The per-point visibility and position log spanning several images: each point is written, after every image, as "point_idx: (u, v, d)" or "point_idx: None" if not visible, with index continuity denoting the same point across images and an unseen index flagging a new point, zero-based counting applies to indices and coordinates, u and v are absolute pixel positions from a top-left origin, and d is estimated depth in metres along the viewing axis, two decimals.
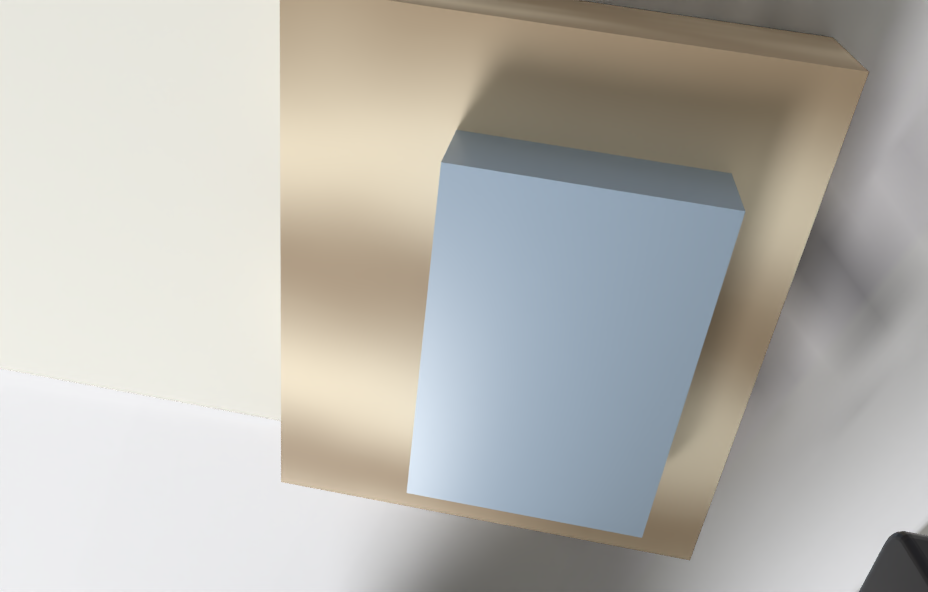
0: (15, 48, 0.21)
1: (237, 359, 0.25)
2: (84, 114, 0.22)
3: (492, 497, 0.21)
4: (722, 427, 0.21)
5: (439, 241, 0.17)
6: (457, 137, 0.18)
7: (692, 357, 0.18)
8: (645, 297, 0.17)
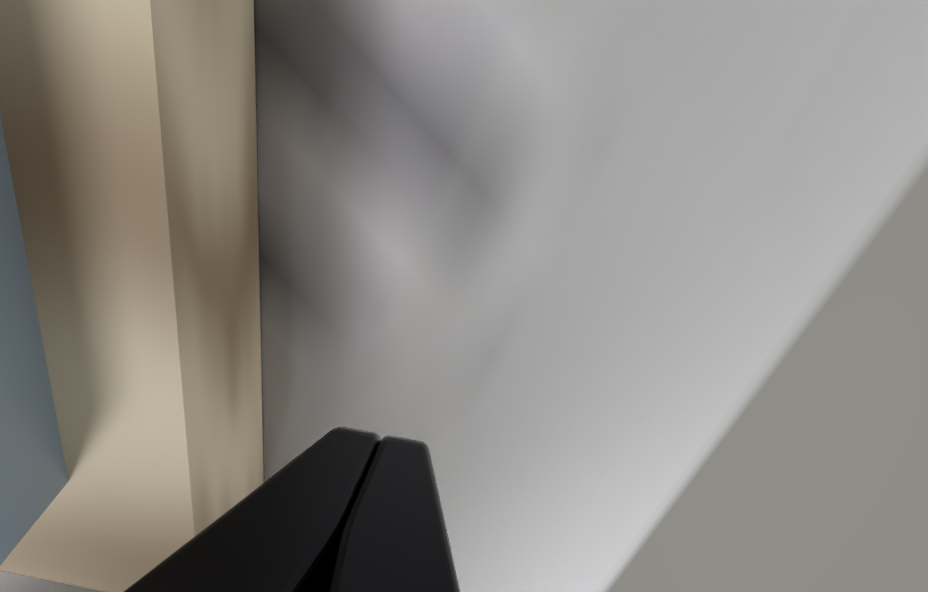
0: None
1: None
2: None
3: None
4: (156, 381, 0.11)
5: None
6: None
7: None
8: None
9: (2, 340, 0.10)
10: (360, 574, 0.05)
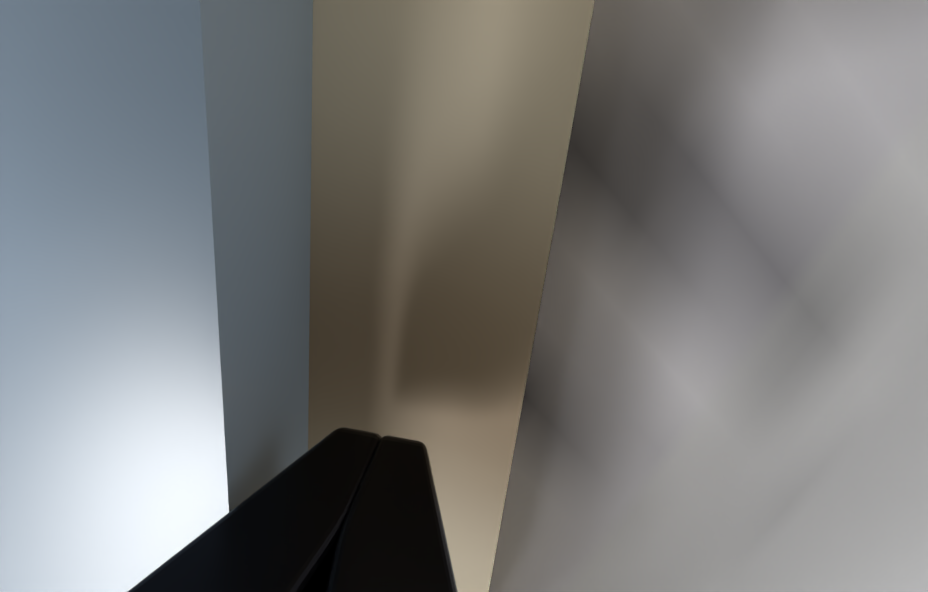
0: None
1: None
2: None
3: None
4: (456, 579, 0.09)
5: None
6: None
7: (210, 453, 0.06)
8: (13, 276, 0.05)
9: None
10: (358, 573, 0.05)
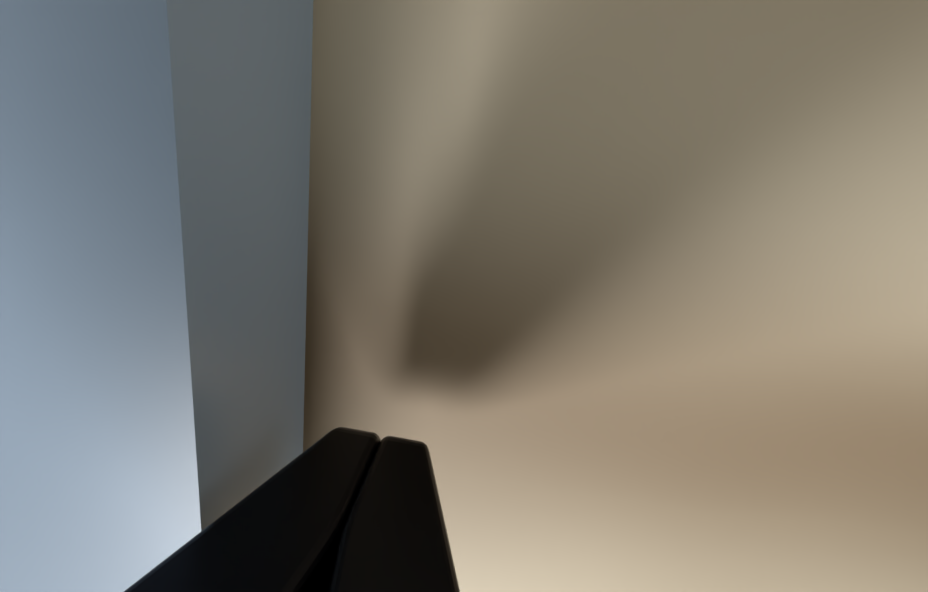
0: None
1: None
2: None
3: None
4: None
5: None
6: None
7: (180, 434, 0.06)
8: None
9: None
10: (361, 574, 0.05)
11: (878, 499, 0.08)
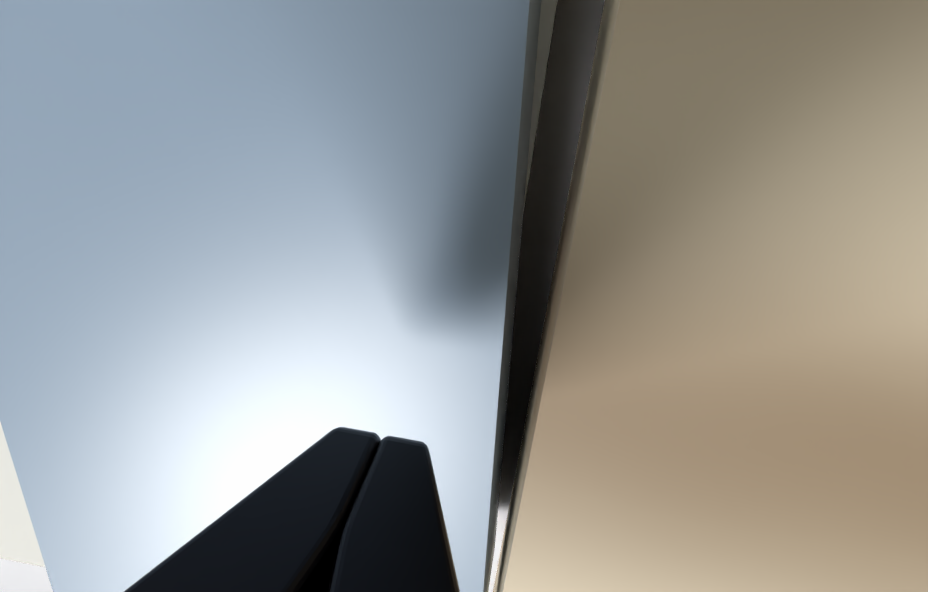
0: None
1: None
2: None
3: None
4: None
5: None
6: None
7: (492, 305, 0.08)
8: (362, 174, 0.08)
9: (503, 414, 0.10)
10: (360, 574, 0.05)
11: None
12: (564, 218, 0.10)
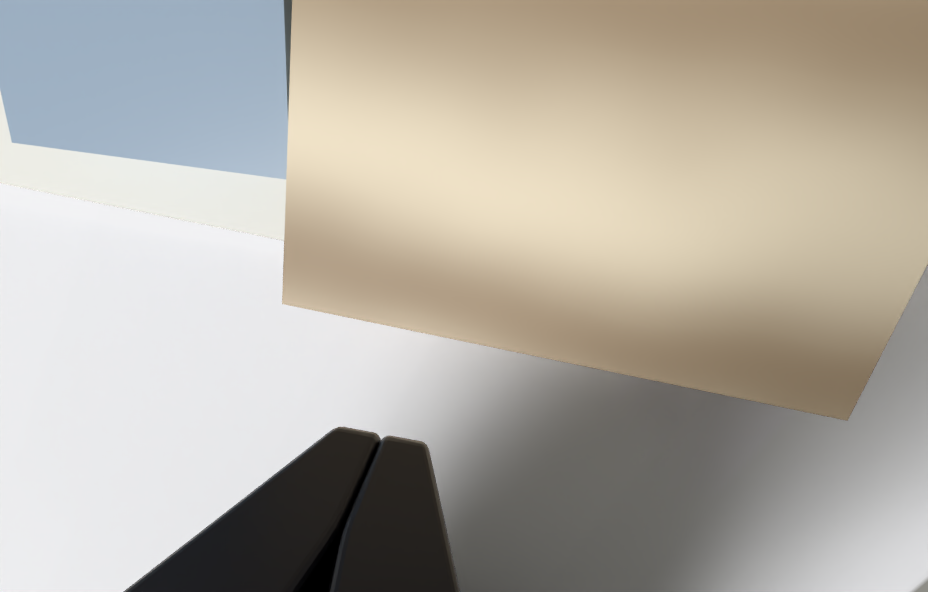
0: None
1: None
2: None
3: (107, 137, 0.17)
4: None
5: None
6: None
7: None
8: None
9: None
10: (360, 574, 0.05)
11: (770, 44, 0.13)
12: None
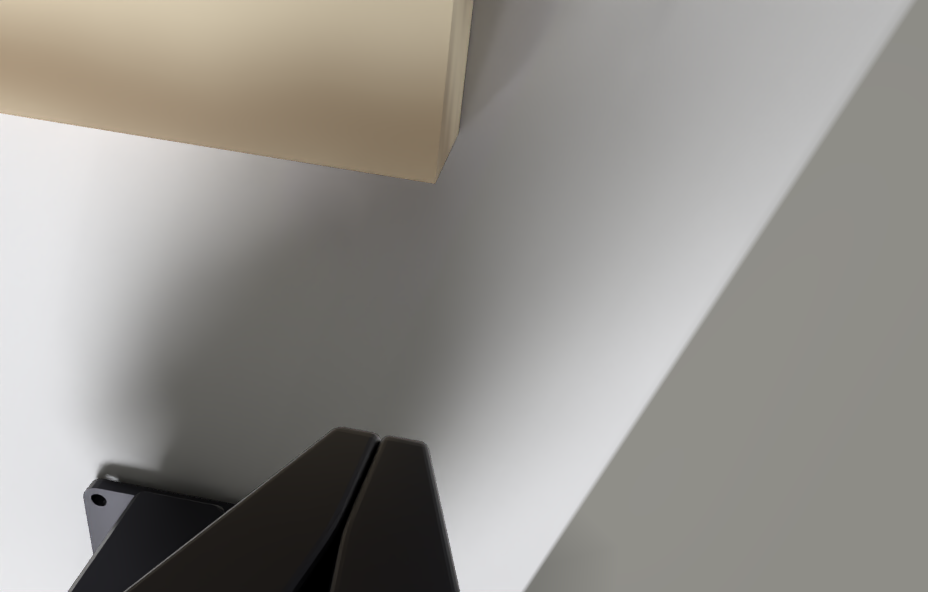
0: None
1: None
2: None
3: None
4: None
5: None
6: None
7: None
8: None
9: None
10: (360, 574, 0.05)
11: None
12: None
